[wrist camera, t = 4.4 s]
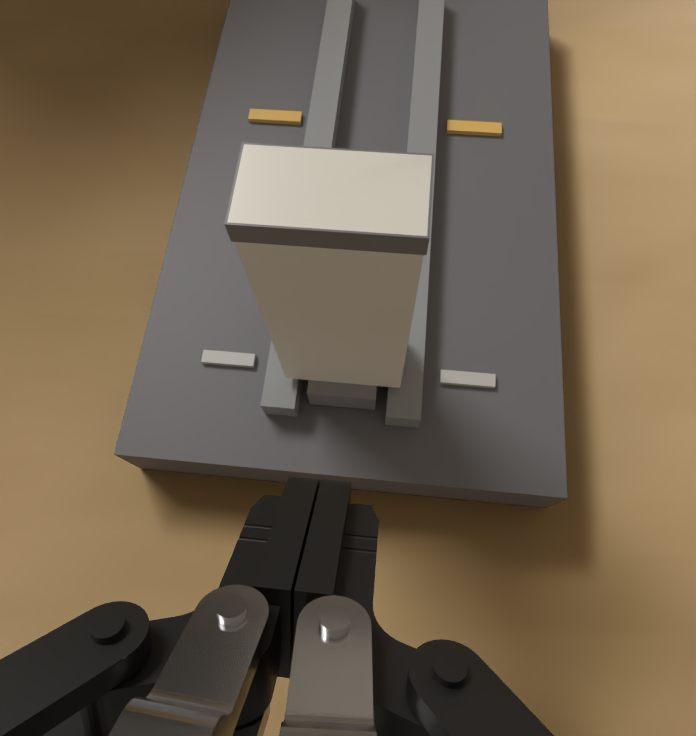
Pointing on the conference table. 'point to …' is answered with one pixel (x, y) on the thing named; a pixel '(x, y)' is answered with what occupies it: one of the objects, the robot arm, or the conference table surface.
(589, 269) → the conference table surface
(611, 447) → the conference table surface
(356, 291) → the fader
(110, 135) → the conference table surface
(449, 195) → the grey slider track board
